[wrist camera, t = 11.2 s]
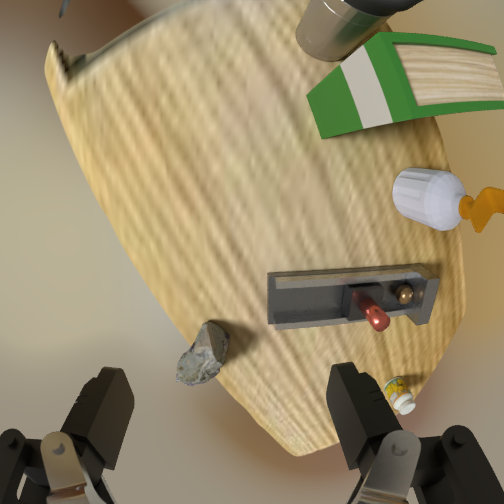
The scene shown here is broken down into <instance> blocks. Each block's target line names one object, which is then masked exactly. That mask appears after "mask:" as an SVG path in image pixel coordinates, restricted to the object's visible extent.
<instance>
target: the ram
mask: <svg viewBox="0 0 504 504" xmlns="http://www.w3.org/2000/svg"><path fill="white" fill-rule="evenodd" d="M384 290H385V288H384V287H383V286H382V285H381V284H380V283H379V282H369V283H358V284H345V288H344V296H343V304H342V313H343V314H344V316H345V317H346V319H347V320H348V321H355V320H363V319H367V320H368V321H369V322H370V324H371V325H372V326H373V328H374V329H375V330H376V331H378V332H381V331H384V330H385V329H386V328H387V327H388V326H389V324H390V318H389V316H388V315H387V314H386V313H385V312H384V311H383V310H382V309H381V306H382V301H383V295H384Z"/></svg>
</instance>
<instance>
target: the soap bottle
mask: <svg viewBox="0 0 504 504" xmlns="http://www.w3.org/2000/svg"><path fill="white" fill-rule="evenodd" d="M392 195H393V201H394V204H395V206H396V208H397V210H398V211H399V212H400V213H401V214H402V215H403V216H405V217H407V218H410V219H412V220H415V221H417V222H420V223H422V224H425V225H427V226H430V227H432V228H435V229H437V230H440V231H444V230H450V229H453V228H454V227H456V226H457V225H458V224H459V222H460V221H461V219H466V220H468V219H470V220H471V222H472V225H473V227H474V229H475V231H476V232H477V233H480V232H481V231H482V230H483V228H484V227H485V225H486V224H487V222H488V221H489V219H490V218H491V216H492V215H493V214H494V213H496V212H498V213H503V214H504V190H502V189H497V188H493V187H486V188H484V189H483V190H482V191H481V192H480V194H479V195H478V197H477V199H476V200H475V201H474V200H473V198H472V197H470V196H468V195H466V192H465V189H464V186H463V184H462V182H461V181H460V180H459V178H457V177H456V176H455V175H454V174H452V173H450V172H448V171H441V170H432V169H423V168H407V169H405V170H403V171H401V173H400V174H399V175H398V176H397V177H396V180H395V182H394V184H393V192H392Z"/></svg>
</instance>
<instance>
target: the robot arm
mask: <svg viewBox="0 0 504 504" xmlns="http://www.w3.org/2000/svg"><path fill="white" fill-rule="evenodd" d="M421 1H423V0H310V2H309V4H308V6H307V8H306V10H305V12H304V14H303V16H302V18H301V20H300V22H299V25H298V27H297V29H296V39H297V42H298V43H299V45H300V47H301V48H302V49H303V50H304V51H305V52H306V53H308V54H309V55H310V56H312V57H314V58H316V59H319V60H323V61H337V60H339V59H341V58H343V57H344V56H346V55H347V54H348V53H349V52H350V51H351V50H352V49H353V48H355V47H356V46H357V45H358V44H359V43H360V42H361V41H363V40H364V39H365V38H366V37H367V36H368V35H370V34H371V33H372V32H373V31H374V30H375V29H377V28H378V27H379V26H380V25H381V24H383V23H384V22H385V21H386V20H387V19H389V18H390V17H391V16H392V15H394V14H395V13H396V12H400V11H404V10H408V9H409V8H411V7H413V6H414V5H416V4H417V3H419V2H421ZM326 400H327V405H328V408H329V411H330V414H331V417H332V420H333V423H334V426H335V429H336V431H337V434H338V437H339V440H340V443H341V446H342V449H343V452H344V455H345V458H346V461H347V465H348V468H349V470H353V469H356V468H359V470H360V473H361V475H360V477H359V479H358V481H357V483H356V485H355V487H354V489H353V491H352V493H351V495H350V496H349V498H348V500H347V502H346V504H409V503H408V501H406V497H407V494H408V491H409V488H410V487H413V488H414V491H415V494H416V497H417V499H418V502H419V504H504V491H503V489H502V487H501V485H500V483H499V481H498V479H497V477H496V475H495V473H494V471H493V469H492V467H491V465H490V463H489V461H488V460H487V458H486V456H485V454H484V452H483V451H482V449H481V447H480V445H479V444H478V442H477V440H476V438H475V437H474V435H473V433H472V432H471V431H470V430H469V429H468V428H467V427H465V426H460V425H455V426H452V427H449V428H448V429H447V430H446V431H445V432H444V433H443V435H442V436H436V437H425V438H419V437H417V436H416V435H415V434H413V433H412V432H409V431H405V430H403V429H402V427H401V425H400V424H399V422H398V420H397V418H396V416H395V414H394V413H393V411H392V409H391V407H390V405H389V403H388V402H387V400H386V399H385V396H384V394H383V393H382V391H381V389H380V387H379V386H378V384H377V382H376V380H375V379H374V378H372V377H371V376H370V375H369V374H367V373H366V372H364V373H359V372H358V370H357V369H356V367H355V365H354V363H353V362H346V363H340V364H334V365H332V367H331V372H330V377H329V382H328V386H327V391H326ZM133 409H134V395H133V393H132V390H131V388H130V385H129V383H128V380H127V378H126V376H125V373H124V371H123V369H121V368H112V367H103V368H102V369H101V371H100V373H99V375H98V377H97V378H94V377H93V378H92V379H91V380H90V381H88V383H86V384H85V385H84V387H83V388H82V391H81V392H80V396H78V398H77V399H76V403H74V405H73V407H72V409H71V411H70V413H69V415H68V416H67V418H66V420H65V422H64V424H63V426H62V428H61V430H60V431H56V432H52V433H49V434H47V435H46V436H45V437H44V438H43V440H38V439H26V438H25V437H24V435H23V434H22V433H21V432H20V431H19V430H17V429H8V430H6V431H4V432H3V433H2V434H1V436H0V504H117V502H116V500H115V498H114V496H113V494H112V492H111V490H110V488H109V486H108V484H107V482H106V480H105V478H104V476H103V475H102V472H103V469H104V468H106V469H110V470H114V469H115V465H116V462H117V458H118V455H119V452H120V449H121V445H122V442H123V439H124V436H125V433H126V430H127V427H128V424H129V420H130V418H131V415H132V412H133ZM23 473H24V474H25V475H26V476H27V478H26V481H25V484H24V487H23V489H22V493H21V496H20V499H19V500H18V498H17V489H18V487H19V484H20V481H21V478H22V476H23Z"/></svg>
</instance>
